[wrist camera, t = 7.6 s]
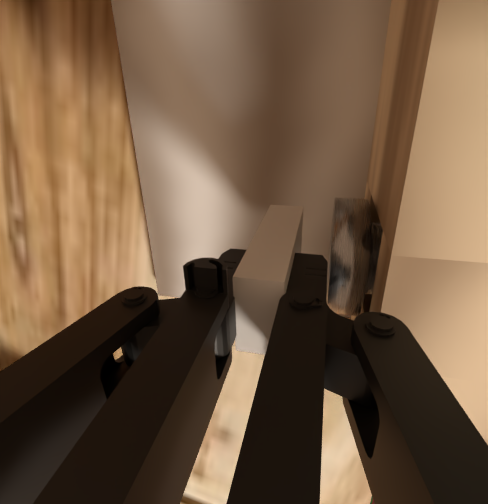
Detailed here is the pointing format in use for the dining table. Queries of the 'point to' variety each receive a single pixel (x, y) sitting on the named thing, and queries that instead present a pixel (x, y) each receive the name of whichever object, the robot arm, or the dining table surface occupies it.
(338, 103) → the block
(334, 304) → the pin
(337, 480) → the dining table surface
